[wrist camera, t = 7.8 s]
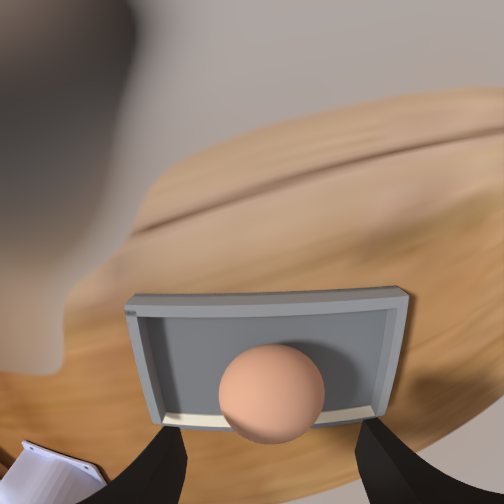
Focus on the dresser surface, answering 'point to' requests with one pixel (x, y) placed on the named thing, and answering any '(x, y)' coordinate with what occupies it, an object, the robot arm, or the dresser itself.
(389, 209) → the dresser surface
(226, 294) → the grey shallow tray
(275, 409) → the ball
